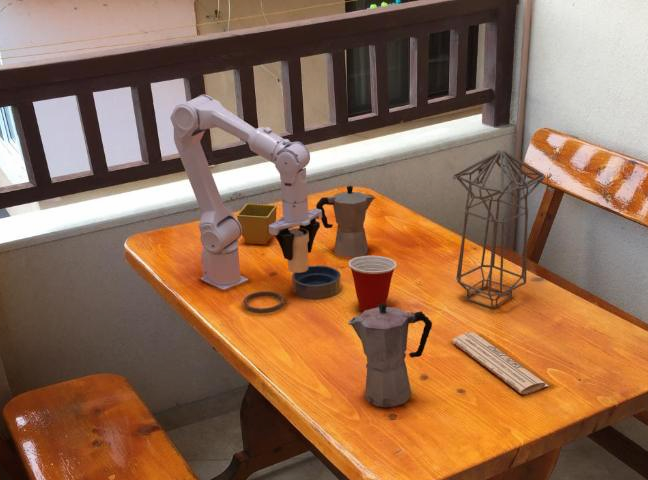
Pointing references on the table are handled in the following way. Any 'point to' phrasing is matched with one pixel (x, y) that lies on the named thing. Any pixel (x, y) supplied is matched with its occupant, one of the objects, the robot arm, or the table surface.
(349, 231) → the coffeepot
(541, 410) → the table surface
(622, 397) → the table surface
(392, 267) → the plastic cup
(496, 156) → the geometric lantern
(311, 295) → the planter
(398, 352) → the moka pot
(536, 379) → the newspaper
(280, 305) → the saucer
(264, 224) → the flower pot
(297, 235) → the clay pot
